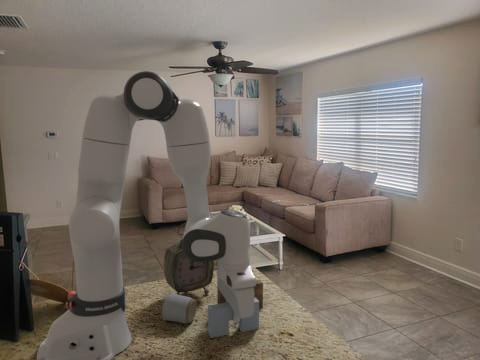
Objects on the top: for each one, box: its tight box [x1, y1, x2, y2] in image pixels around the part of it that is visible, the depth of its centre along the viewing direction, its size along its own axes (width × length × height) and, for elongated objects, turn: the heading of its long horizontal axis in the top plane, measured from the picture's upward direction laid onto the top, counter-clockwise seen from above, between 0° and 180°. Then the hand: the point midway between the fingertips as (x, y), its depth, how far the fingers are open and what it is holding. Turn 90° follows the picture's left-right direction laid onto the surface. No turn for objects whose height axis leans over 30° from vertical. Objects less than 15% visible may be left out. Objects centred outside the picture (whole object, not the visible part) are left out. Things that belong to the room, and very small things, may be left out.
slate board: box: [207, 298, 260, 339], centre depth 105 cm, size 14×2×8 cm, turn 110°
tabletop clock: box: [163, 222, 215, 295], centre depth 126 cm, size 14×9×25 cm, turn 123°
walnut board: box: [216, 279, 264, 309], centre depth 117 cm, size 14×2×8 cm, turn 110°
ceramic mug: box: [161, 292, 197, 324], centre depth 112 cm, size 11×8×8 cm
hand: (233, 317), depth 105 cm, fingers closed on slate board, 2 cm apart
